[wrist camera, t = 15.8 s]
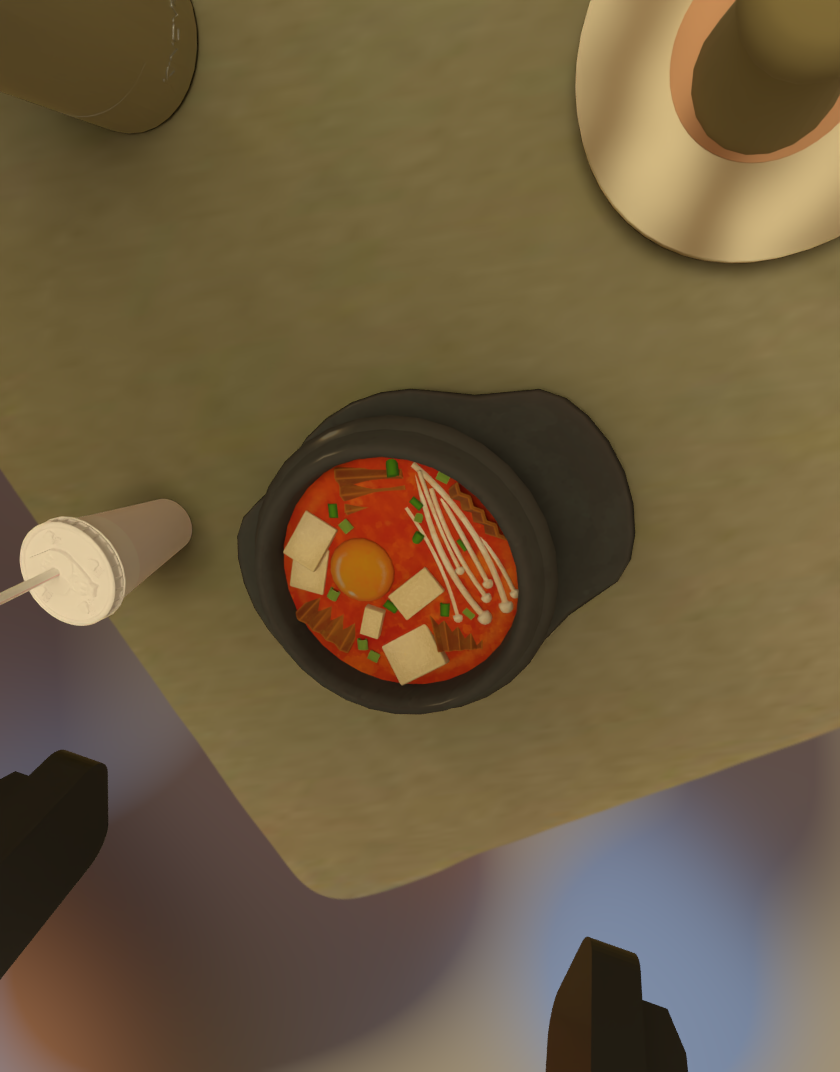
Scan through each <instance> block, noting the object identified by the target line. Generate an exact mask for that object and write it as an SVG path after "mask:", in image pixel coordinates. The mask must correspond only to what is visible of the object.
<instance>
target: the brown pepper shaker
mask: <svg viewBox="0 0 840 1072" xmlns="http://www.w3.org/2000/svg"><path fill="white" fill-rule="evenodd" d="M691 96H692V101H693V106H694V111H695V116H696V118H697V120H698V121H699V123H700V125H701V126H702V128H703V130H704V131H705V133H706V135H707V136H708V137H709V138H711V139H712V140H713V141H715V142H716V143H717V144H719V145H720V146H721V147H722V148H724V149H726V150H730V151H733V152H737V153H740V154H744V155H755V154H770V153H772V152H775V151H778V150H780V149H783V148H785V147H788V146H791V145H793V144H795V143H796V142H798V141H799V140H800V139H802V138H803V137H804V136H806V135H807V134H808V133H810V132H811V131H813V130H814V129H815V128H816V127H817V126H818V125H819V123H820V122H821V121H822V120H823V119H824V117H825V116H826V115H827V114H828V112H829V111H830V110H831V109H832V108H833V106H834V105H835V103H836V101H837V99H838V97H839V96H840V0H736V1H735V2H734V3H733V4H732V5H731V7H730V8H729V9H728V10H727V12H726V13H725V14H724V15H723V17H722V18H721V19H720V20H719V22H718V23H717V24H716V26H715V27H714V29H713V30H712V31H711V33H710V34H709V36H708V37H707V38H706V40H705V41H704V43H703V45H702V48H701V50H700V53H699V55H698V58H697V61H696V63H695V66H694V68H693V79H692V89H691Z"/></svg>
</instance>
